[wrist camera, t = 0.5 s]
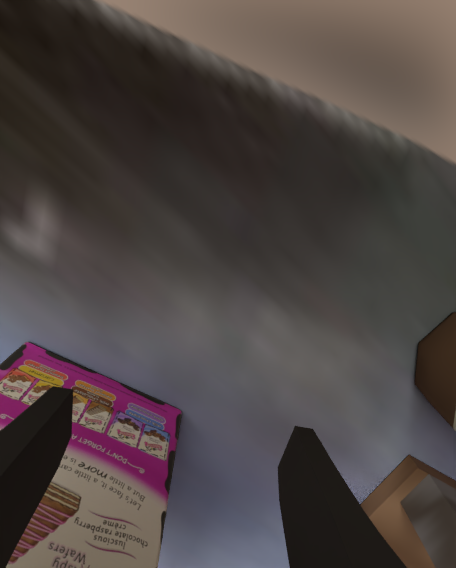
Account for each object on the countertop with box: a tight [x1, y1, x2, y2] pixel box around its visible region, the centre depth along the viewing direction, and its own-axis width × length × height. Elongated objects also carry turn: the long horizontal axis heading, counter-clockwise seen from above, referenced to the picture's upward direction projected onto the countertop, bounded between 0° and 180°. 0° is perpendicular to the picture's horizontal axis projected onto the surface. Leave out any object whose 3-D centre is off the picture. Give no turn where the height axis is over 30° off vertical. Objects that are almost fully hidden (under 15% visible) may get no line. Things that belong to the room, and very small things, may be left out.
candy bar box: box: [0, 342, 182, 568], centre depth 16 cm, size 11×5×16 cm, turn 61°
